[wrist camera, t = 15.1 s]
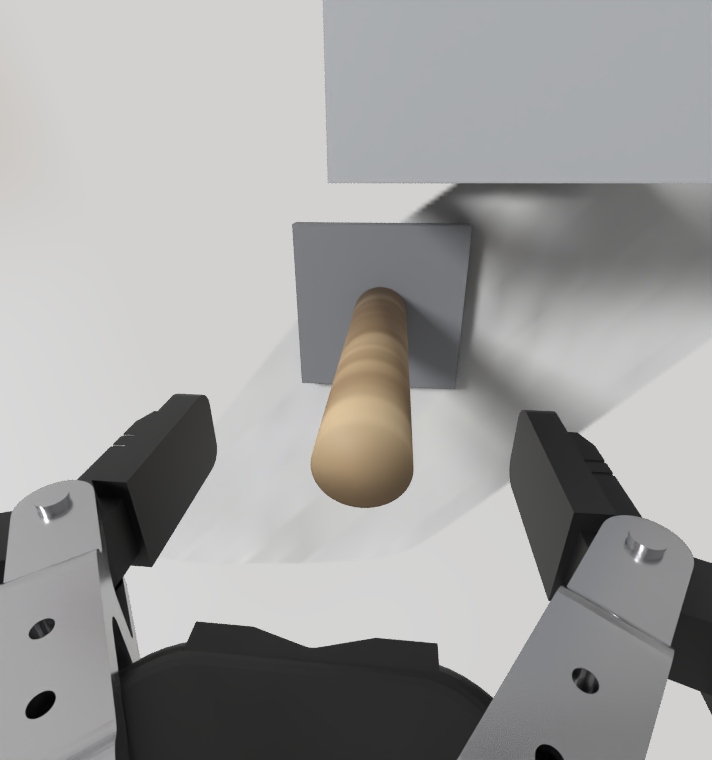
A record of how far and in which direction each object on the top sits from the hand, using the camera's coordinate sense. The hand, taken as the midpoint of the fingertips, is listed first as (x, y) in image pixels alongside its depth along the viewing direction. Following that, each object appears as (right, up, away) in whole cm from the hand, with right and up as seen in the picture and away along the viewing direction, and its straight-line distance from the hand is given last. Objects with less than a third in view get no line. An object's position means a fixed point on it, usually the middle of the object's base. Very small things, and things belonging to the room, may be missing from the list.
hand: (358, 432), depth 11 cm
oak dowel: (+1, +5, +10) cm, 11 cm away
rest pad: (+1, +5, +11) cm, 12 cm away
